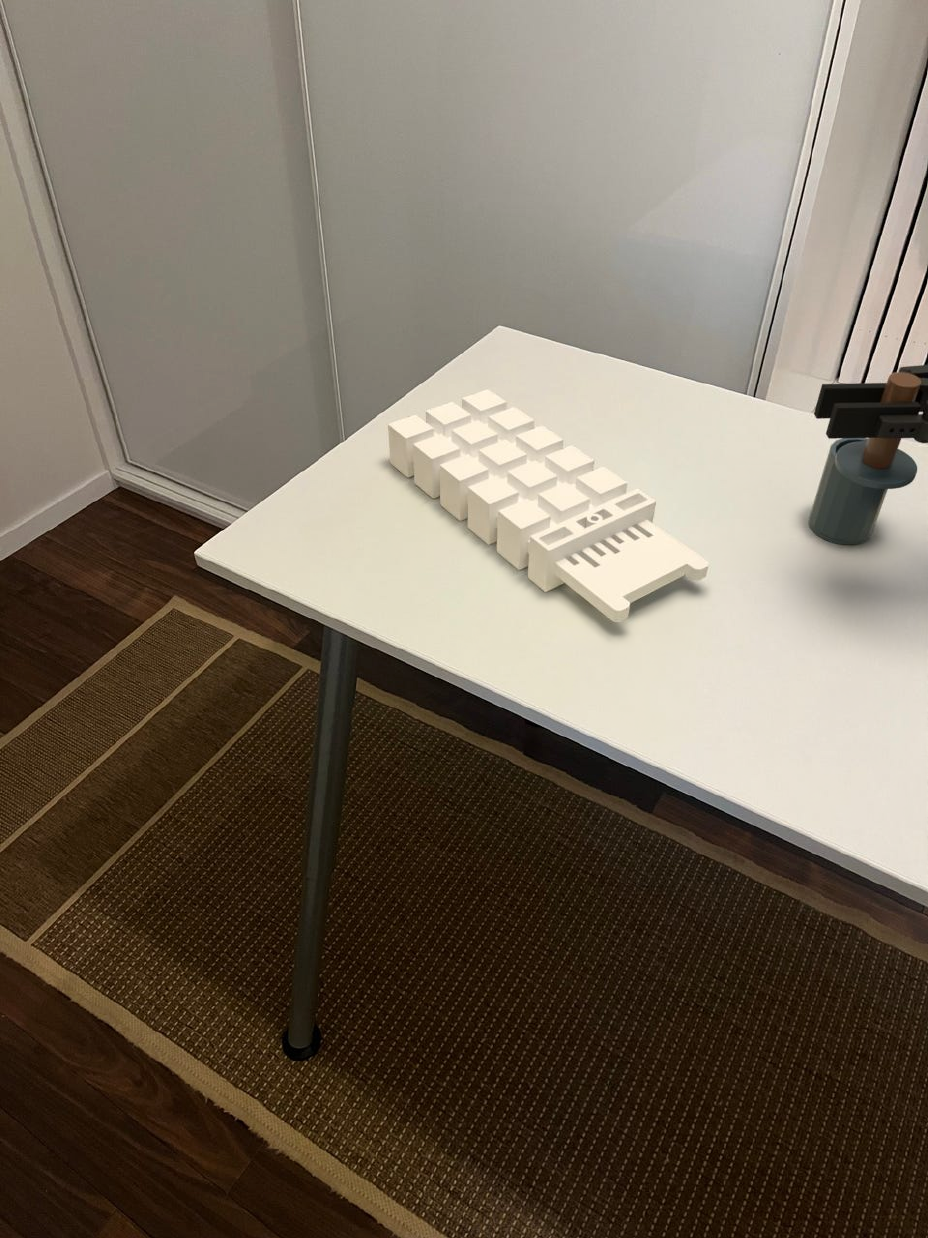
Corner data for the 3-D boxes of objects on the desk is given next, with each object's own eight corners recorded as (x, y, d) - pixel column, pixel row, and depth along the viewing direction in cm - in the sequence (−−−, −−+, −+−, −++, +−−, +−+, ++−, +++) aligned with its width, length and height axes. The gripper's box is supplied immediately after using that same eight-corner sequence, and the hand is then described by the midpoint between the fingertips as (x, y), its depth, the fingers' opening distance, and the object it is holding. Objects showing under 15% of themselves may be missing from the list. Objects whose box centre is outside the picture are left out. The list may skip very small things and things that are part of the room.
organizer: (487, 389, 105) (721, 545, 84) (486, 426, 108) (712, 586, 87) (387, 424, 99) (612, 600, 78) (390, 463, 102) (606, 643, 81)
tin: (871, 515, 95) (897, 442, 90) (871, 549, 91) (898, 475, 85) (810, 504, 97) (831, 432, 91) (807, 538, 93) (829, 464, 87)
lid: (912, 460, 80) (946, 366, 75) (913, 501, 76) (951, 405, 70) (834, 447, 82) (862, 355, 76) (831, 487, 77) (861, 392, 72)
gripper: (1148, 500, 72) (844, 506, 72) (1048, 400, 84) (786, 404, 83) (1199, 413, 67) (873, 419, 66) (1086, 319, 78) (807, 323, 78)
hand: (826, 411), depth 75 cm, fingers closed on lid, 2 cm apart
